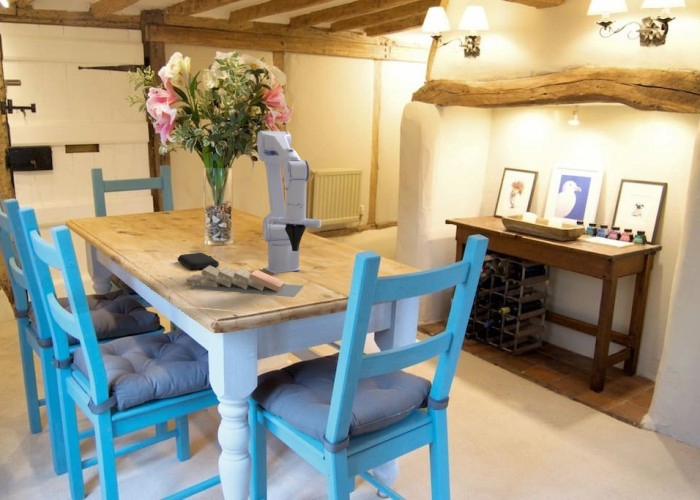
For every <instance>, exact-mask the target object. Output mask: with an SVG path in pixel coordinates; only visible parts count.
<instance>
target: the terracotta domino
mask: <svg viewBox="0 0 700 500" xmlns="http://www.w3.org/2000/svg"><path fill="white" fill-rule="evenodd" d="M250 273H251V274H250V277H249V279H250V280H252V281H254V282H257V283H259V284H261V285H263V286H266V287H268V288H270V289H272V290H274V291H277V292H278V291H279V290H280V289H281V288H282V287H283V286H284V284H285V283H286V282H285V281H284V280H281V279H279V278H276V277H274V276H271V275H270V274H267V273H265V272H263V271H261V270H259V269H255V270H254V271H252V272H250Z"/></svg>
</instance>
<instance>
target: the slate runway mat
mask: <svg viewBox="0 0 700 500" xmlns="http://www.w3.org/2000/svg"><path fill="white" fill-rule="evenodd" d="M303 288H304V285H300V284H285V283H284V286H283V287H282V288H281V289H280V290H279V291H278V292H277V291H274V290H272V289H270V288H268V287H266V288H265V289H264V290H262V291H261V290H259V289H257V288H255V287H253V286H250V287H248V288H247V289H244V288H242V287H239V286H237V285H235V284H234V285H232V286H231V287H230V288H229V287H227V286H225V285H223V284H220V285H219V286H217V287H210V286H198V285H192V287H190V289H193V290H194V289H196V290H204V291H205V290H206V291H217V292H228V293H229V292H230V293H243V294H253V295H266V296H277V297H279V296H280V297H290V298H292V297H293V298H294V297H296V296H297V294H298V293H299V292H300V291H301V290H302V289H303Z"/></svg>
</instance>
